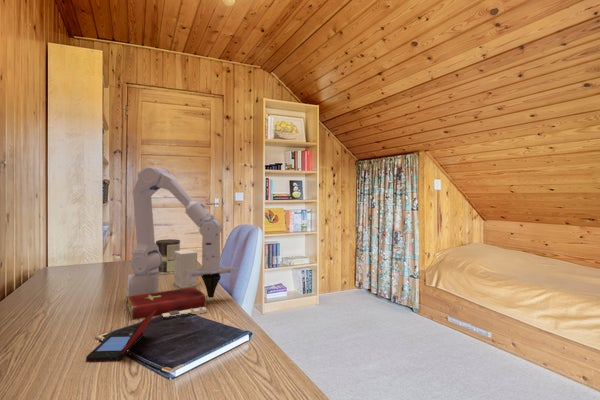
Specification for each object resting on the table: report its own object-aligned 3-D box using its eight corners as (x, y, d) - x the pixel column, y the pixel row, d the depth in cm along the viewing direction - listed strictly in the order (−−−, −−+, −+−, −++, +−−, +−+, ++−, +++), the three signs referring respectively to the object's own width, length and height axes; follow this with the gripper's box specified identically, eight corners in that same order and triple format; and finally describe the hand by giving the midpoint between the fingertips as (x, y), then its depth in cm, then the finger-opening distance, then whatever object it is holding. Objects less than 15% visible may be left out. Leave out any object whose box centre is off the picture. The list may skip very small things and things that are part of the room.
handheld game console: (112, 337, 80) (112, 307, 80) (157, 336, 81) (158, 306, 81) (83, 363, 67) (83, 327, 67) (137, 361, 68) (138, 326, 68)
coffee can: (154, 274, 142) (154, 242, 142) (156, 269, 152) (157, 239, 152) (179, 273, 145) (179, 241, 145) (180, 268, 155) (180, 239, 155)
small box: (197, 286, 126) (197, 252, 126) (180, 288, 122) (181, 253, 122) (189, 281, 132) (189, 249, 132) (173, 284, 128) (173, 250, 128)
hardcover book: (206, 308, 102) (206, 295, 102) (131, 321, 91) (131, 306, 91) (195, 298, 112) (195, 286, 112) (126, 309, 101) (126, 295, 101)
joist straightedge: (163, 319, 91) (163, 315, 91) (162, 317, 93) (162, 312, 93) (206, 312, 97) (206, 308, 97) (204, 310, 99) (204, 305, 99)
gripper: (191, 259, 101) (190, 303, 101) (236, 255, 108) (235, 296, 108) (186, 255, 107) (185, 297, 107) (229, 252, 114) (228, 291, 114)
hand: (210, 296), depth 108 cm, fingers closed
